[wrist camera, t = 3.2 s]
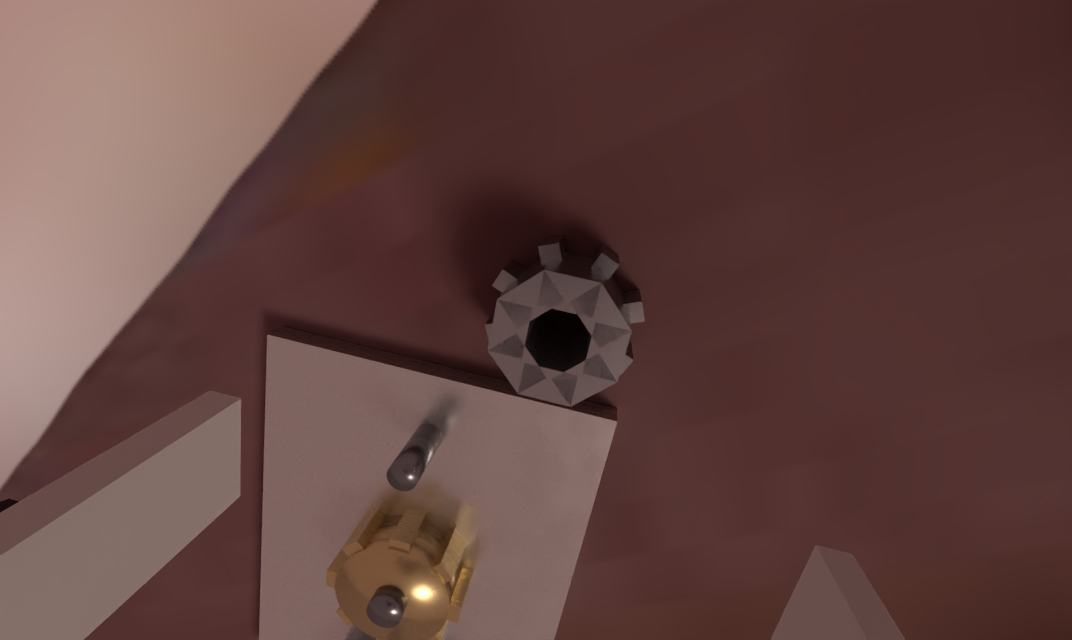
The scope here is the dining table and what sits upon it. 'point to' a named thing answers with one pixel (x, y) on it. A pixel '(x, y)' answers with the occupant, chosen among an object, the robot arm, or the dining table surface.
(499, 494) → the carrier
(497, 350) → the gear
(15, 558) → the robot arm
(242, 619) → the dining table surface
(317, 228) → the dining table surface
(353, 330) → the dining table surface
